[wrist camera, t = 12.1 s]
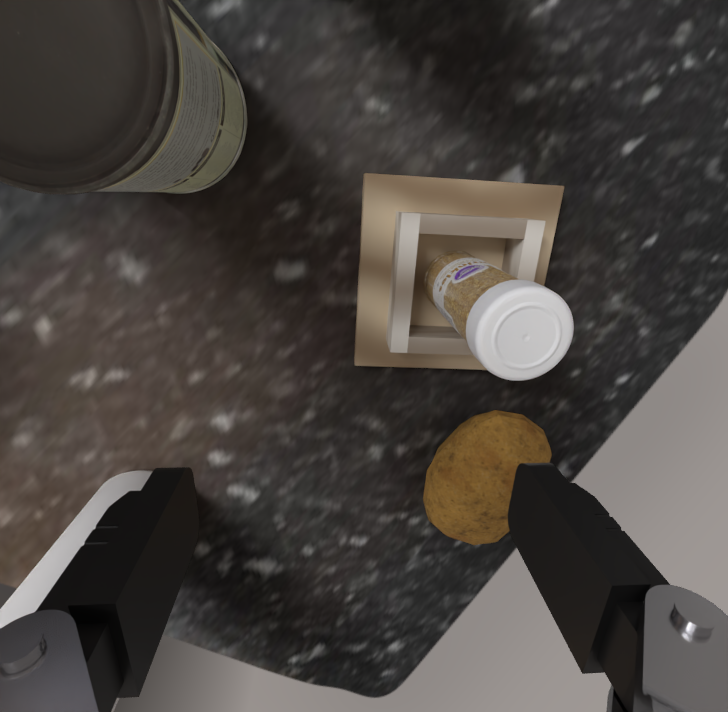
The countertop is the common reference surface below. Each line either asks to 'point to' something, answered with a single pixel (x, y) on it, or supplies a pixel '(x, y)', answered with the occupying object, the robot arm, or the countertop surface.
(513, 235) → the spice stand
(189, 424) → the countertop surface
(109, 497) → the alcohol
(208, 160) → the coffee can
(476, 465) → the potato
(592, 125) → the countertop surface
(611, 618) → the robot arm
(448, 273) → the sprinkles bottle
